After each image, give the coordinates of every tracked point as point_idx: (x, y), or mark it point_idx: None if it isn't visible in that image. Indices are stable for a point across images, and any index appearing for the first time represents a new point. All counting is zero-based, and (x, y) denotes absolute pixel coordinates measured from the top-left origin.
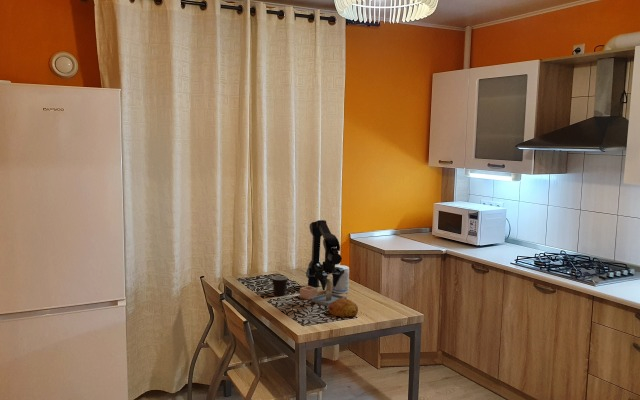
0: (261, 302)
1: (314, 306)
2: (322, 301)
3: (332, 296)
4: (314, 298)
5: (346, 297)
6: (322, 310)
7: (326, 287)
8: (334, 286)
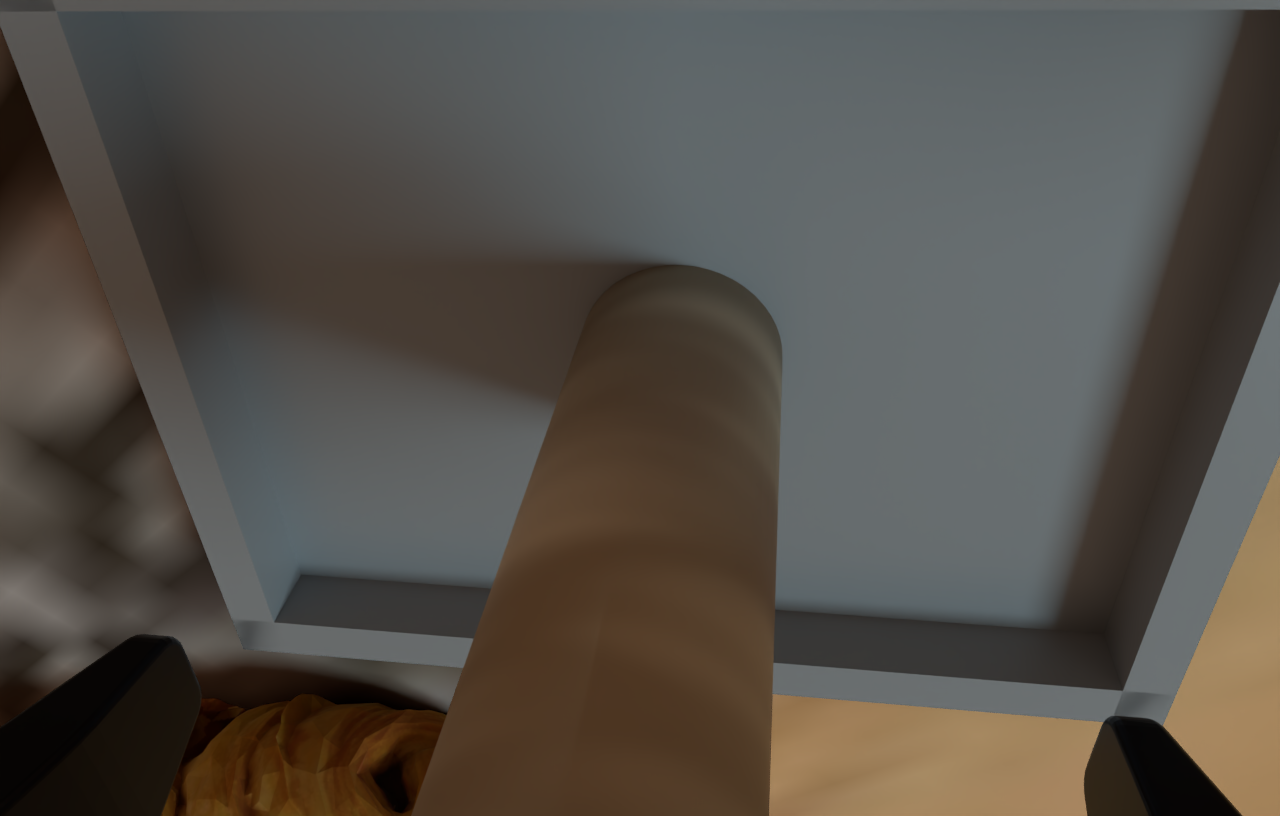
0: None
1: (5, 297)
2: (193, 484)
3: (1158, 220)
4: (179, 5)
5: (1152, 711)
6: (57, 583)
7: (457, 688)
8: (1098, 776)
